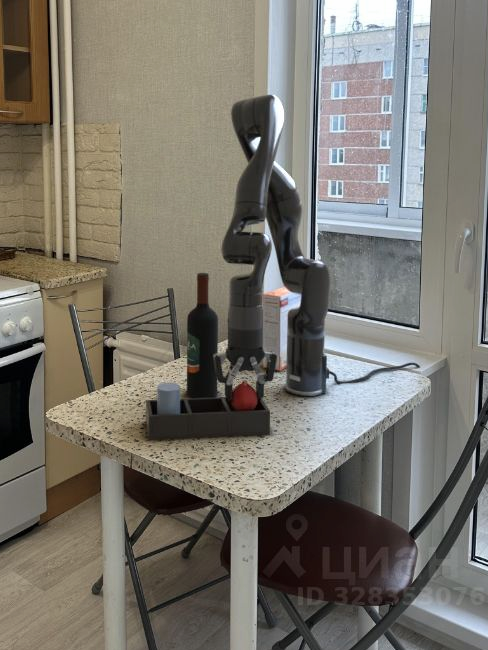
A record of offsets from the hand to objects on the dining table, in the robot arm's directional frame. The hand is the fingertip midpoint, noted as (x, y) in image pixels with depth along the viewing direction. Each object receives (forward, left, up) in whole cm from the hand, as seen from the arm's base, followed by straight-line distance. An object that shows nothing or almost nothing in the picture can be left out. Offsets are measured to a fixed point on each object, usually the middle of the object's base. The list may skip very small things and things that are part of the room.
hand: (244, 399), depth 146 cm
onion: (0, 0, -4) cm, 4 cm away
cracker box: (-20, -41, -6) cm, 46 cm away
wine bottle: (+6, -20, -6) cm, 22 cm away
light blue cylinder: (+16, 0, -5) cm, 17 cm away
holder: (+8, 0, -6) cm, 10 cm away
